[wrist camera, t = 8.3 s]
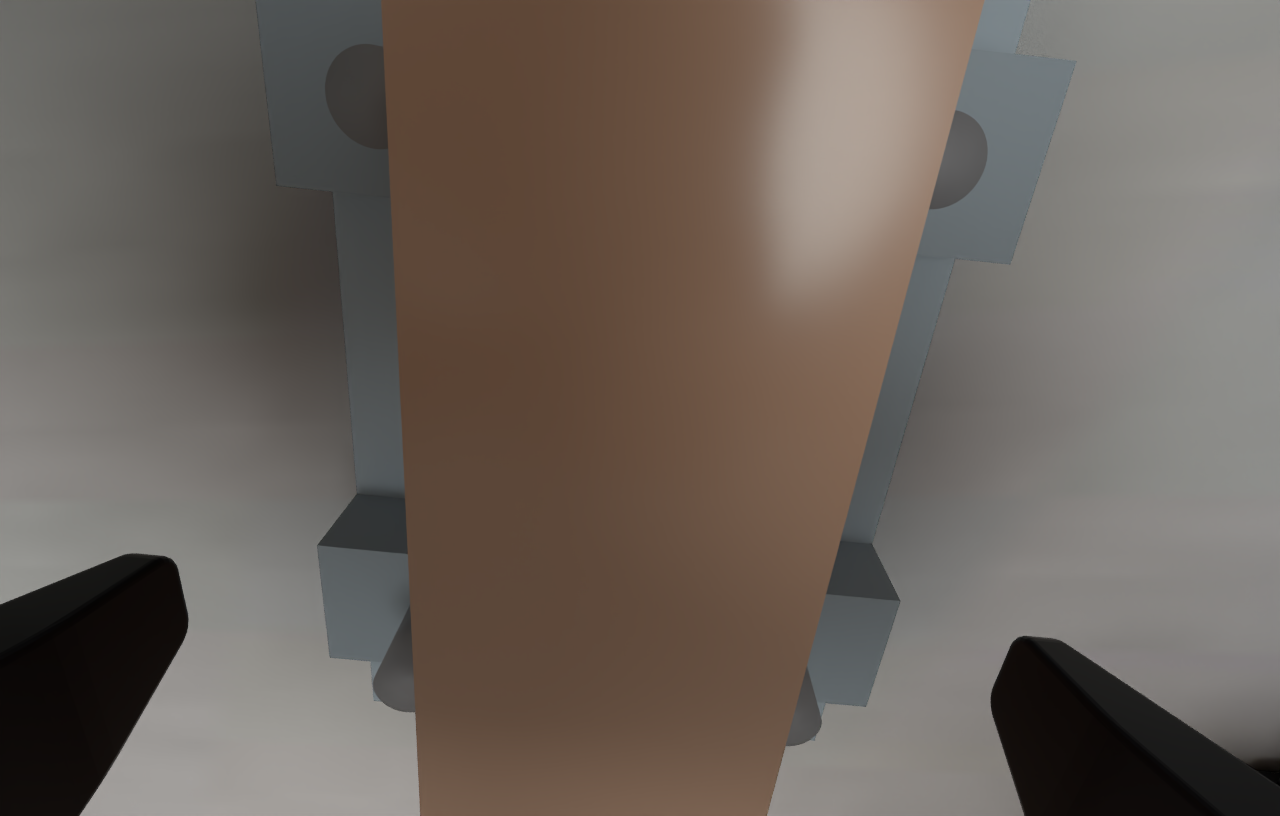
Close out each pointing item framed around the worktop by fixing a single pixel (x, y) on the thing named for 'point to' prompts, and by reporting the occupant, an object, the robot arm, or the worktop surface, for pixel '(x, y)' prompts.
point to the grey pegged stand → (359, 178)
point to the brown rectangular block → (642, 371)
